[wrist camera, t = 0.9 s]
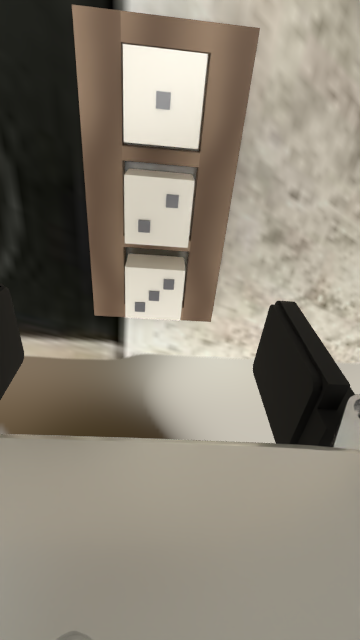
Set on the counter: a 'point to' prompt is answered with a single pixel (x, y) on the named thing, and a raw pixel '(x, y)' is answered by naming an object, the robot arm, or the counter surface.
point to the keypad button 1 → (163, 96)
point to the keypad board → (111, 153)
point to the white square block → (154, 287)
